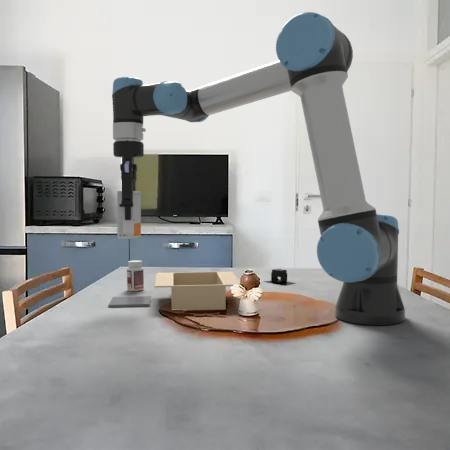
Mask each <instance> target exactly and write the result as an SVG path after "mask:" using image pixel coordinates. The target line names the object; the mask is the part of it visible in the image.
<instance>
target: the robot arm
mask: <svg viewBox="0 0 450 450" xmlns="http://www.w3.org/2000/svg"><path fill="white" fill-rule="evenodd" d="M276 37H277V38H276V41H275V52H276V56H277V59H278V60H276V61H274V62H273V61H272V62H270V63H268V64H264V65H261V66H258V67H256V68H255V67H254V68H252V69H249V70H247V71H243V72H240V73H237V74H234V75H232V76H229V77H226V78H222V79H220V80H216V81H213V82H211V83H207V84H205V85H202V86H199V87H197V88H194V89H193V88H192V89H191V90H187V89H185V87H184V86H183V85H182V83H181V82H178V81H162V82H157V83H149V84H144V83H143V80H142V79H141V78H138V77H134V76H126V77H125V76H122V77H121V76H120V77H117V78H115V79H114V80H113V82H112V95H111V98H112V117H113V118H112V122H113V123H112V139H113V140H114V141H113V143H112V146H113V149H112V150H113V156H114V157H116V158H122V163H120V164H119V165H120V166H119V167H120V180H121V191H122V201H121V203H122V204H119V206H120V207H122V215H123V234H131V233H134V207H133V191H137V190H136V189H137V188H136V182H137V171H138V165H137V164H136V163H135V158H136V159H137V158H143V157H144V153H145V151H144V148H145V147H144V146H145V144H144V143H143V140H144V133H145V132H146V131H147V129H146V128H145V127H144V117H149V116H150V117H151V116H162V117H167V118H174V119H178V120H183V121H187V122H189V123H202V122H204V121H205V120H207V118H209V116H211V115H214V114H218V113H222V112H225V111H228V110H232V109H234V108H238V107H241V106H244V105H248V104H252V103H254V102H258V101H263V100H265V99H268V98H271V97H274V96H279V95H281V94H282V95H283V94H285V93H288V92H292V93H294V94H296V95H297V96H299V97H300V101H301V106H302V110H303V117H304V121H305V125H306V126H305V127H306V131H307V136H308V140H309V146H310V150H311V156H312V160H313V165H314V172H315V175H316V180H317V184H318V190H319V194H320V195H319V196H320V199H321V200H320V201H321V205H322V212H321V214H320V216H319V217H318V219H317V223H318V227H319V233H320V237H319V240H318V241H317V245H316V256H317V260H318V262H319V264H320V267H321V268H322V269H323V271H324V272H325V273H326V274H327V275H328V276H329V277H331V278H333V279H335V280H336V281H339V282H342V283H343V284H342V287H341V288H340V289H341V290H340V292H339V295H338V298H337V301H336V304H335V309H334V310H335V312H334V313H335V315H336V316H335V317H336V318H337V317H338V318H337V319H339V320H341V321H343V322H348V323H353V324H359V325H365V326H366V325H367V326H368V325H369V326H389V325H397V324H401V323H403V322H405V320H406V309H405V306H404V302H403V298H402V296H401V292H400V289H399V286H398V264H399V263H398V261H399V259H398V258H399V234H400V229H399V221H398V219H397V218H396V217H395V216H392V215H388V214H377V210H376V207H374V206H373V205H372V204H370V203H368V202H367V201H366V195H365V190H364V186H363V180H362V176H361V171H360V166H359V161H358V157H357V151H356V147H355V141H354V137H353V132H352V127H351V122H350V116H349V113H348V108H347V103H346V98H345V94H344V88H343V86H344V84H345V82H346V81H347V79H348V77H349V75H348V71H349V70H350V68H351V66H352V62H353V57H354V53H353V52H354V51H353V46H352V43H351V40H349V38H348V36H347V35H346V34H345V33H343V32H342V31H341V30H340V29H338V28H337V27H336V26H335V25H334V23H332V21H331V20H330V19H329V18H328V17H326V16H325V15H321V14H319V13H317V12H314V11H313V12H311V11H307V12H301V13H297V14H296V15H294V16H292V17H291V18H290V19H289V20H288V21H286V22H285V23H284V25H283V26H282V28H281V29H280V31H279V32H278V35H277V36H276Z"/></svg>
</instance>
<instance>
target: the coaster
mask: <svg viewBox="0 0 450 450" xmlns="http://www.w3.org/2000/svg"><path fill="white" fill-rule="evenodd" d="M151 301H152V296H151V295H141V296H140V295H137V296H112V298H111V300H110V301H109V303H108V306H107V307H108V308H129V307H131V308H134V307H136V308H137V307H141V308H142V307H150V305H151Z"/></svg>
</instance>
